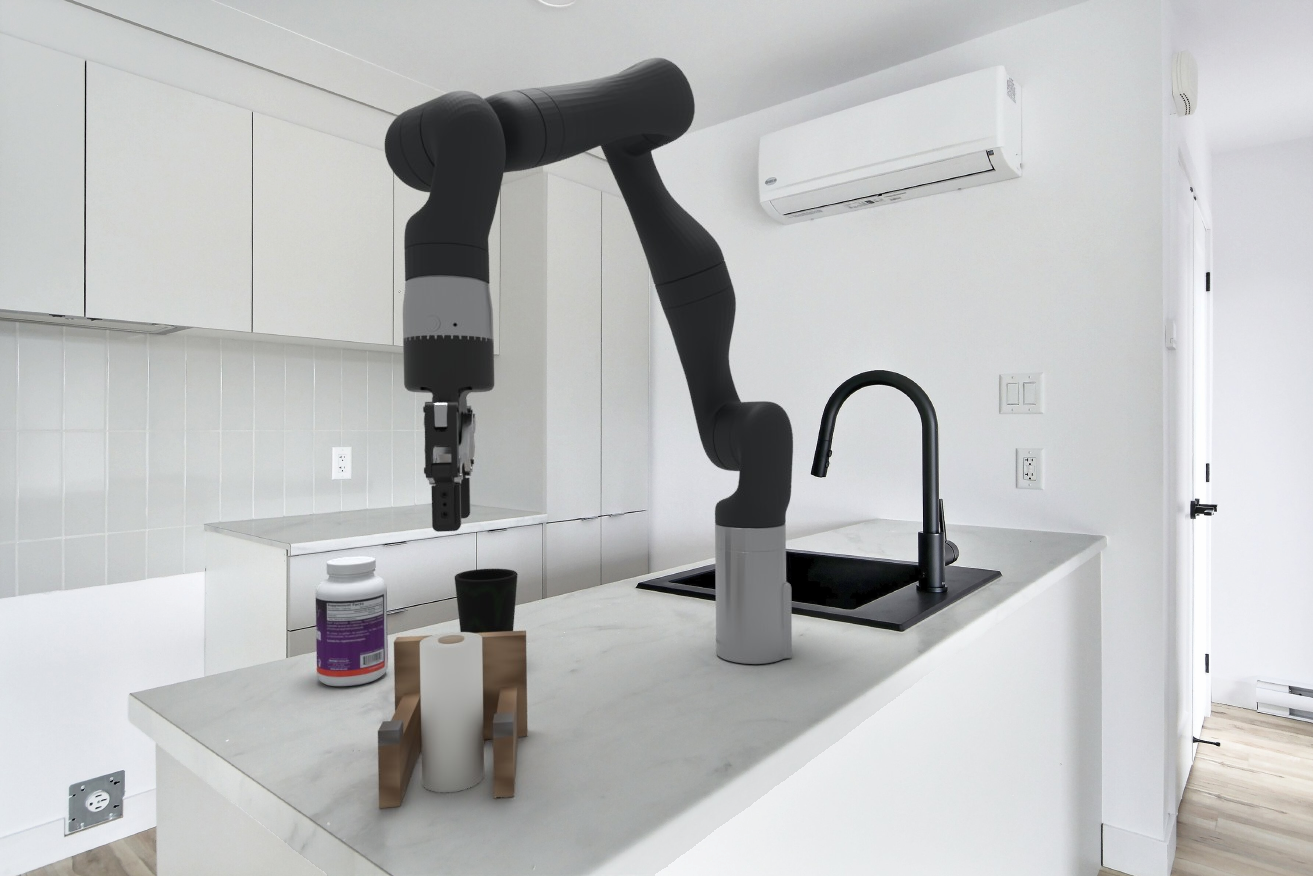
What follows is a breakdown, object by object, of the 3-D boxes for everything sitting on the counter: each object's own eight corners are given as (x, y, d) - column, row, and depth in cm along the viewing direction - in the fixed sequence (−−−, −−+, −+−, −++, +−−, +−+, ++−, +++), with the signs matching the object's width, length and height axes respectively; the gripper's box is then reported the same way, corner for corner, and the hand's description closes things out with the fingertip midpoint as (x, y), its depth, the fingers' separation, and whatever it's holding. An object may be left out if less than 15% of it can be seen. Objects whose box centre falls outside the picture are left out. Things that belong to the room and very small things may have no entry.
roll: (486, 762, 68) (484, 628, 68) (481, 789, 63) (479, 645, 63) (426, 767, 67) (424, 632, 67) (417, 795, 62) (415, 649, 62)
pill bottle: (330, 668, 95) (328, 555, 95) (395, 666, 96) (393, 553, 96) (306, 691, 87) (303, 567, 87) (377, 688, 88) (375, 565, 88)
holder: (527, 729, 75) (526, 630, 75) (525, 795, 62) (523, 675, 62) (398, 739, 73) (396, 637, 73) (367, 809, 60) (365, 684, 60)
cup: (504, 682, 90) (502, 581, 89) (444, 678, 91) (443, 579, 91) (527, 662, 97) (526, 569, 97) (472, 659, 99) (471, 567, 98)
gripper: (488, 326, 58) (492, 534, 59) (497, 345, 72) (500, 513, 73) (387, 325, 57) (392, 538, 58) (416, 345, 71) (420, 515, 72)
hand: (452, 524), depth 65 cm, fingers open, 8 cm apart
